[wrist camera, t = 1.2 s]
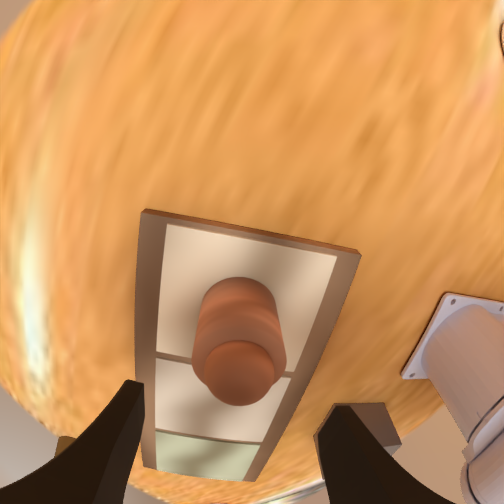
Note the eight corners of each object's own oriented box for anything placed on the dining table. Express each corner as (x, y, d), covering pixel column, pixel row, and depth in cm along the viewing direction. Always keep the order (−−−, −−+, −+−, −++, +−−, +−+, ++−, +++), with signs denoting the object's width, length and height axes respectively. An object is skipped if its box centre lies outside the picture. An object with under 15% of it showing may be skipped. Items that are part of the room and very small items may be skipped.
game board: (356, 250, 17) (362, 256, 16) (254, 476, 27) (255, 483, 26) (145, 208, 16) (140, 213, 15) (144, 460, 25) (143, 468, 24)
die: (383, 402, 23) (402, 445, 18) (359, 434, 25) (373, 475, 20) (333, 402, 22) (348, 452, 17) (313, 435, 24) (322, 480, 19)
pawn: (284, 283, 16) (307, 366, 10) (266, 344, 18) (277, 430, 12) (207, 270, 16) (191, 351, 10) (196, 333, 18) (182, 419, 11)
